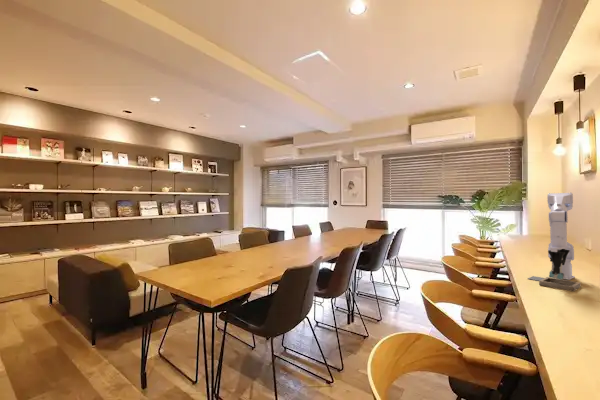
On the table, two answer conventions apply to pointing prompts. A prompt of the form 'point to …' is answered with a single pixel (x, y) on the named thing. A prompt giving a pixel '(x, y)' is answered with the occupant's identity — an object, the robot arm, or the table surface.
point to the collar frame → (560, 284)
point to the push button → (556, 271)
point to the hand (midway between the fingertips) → (559, 265)
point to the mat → (535, 278)
